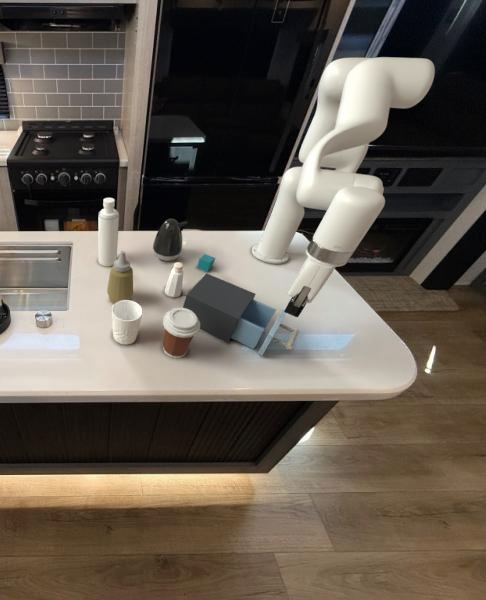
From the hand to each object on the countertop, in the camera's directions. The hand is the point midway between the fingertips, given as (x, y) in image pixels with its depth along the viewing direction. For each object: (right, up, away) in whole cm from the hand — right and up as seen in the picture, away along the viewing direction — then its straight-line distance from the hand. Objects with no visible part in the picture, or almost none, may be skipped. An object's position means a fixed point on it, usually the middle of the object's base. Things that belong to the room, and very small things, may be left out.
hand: (291, 312), depth 77 cm
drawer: (-4, -7, +10) cm, 13 cm away
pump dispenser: (-22, +19, +40) cm, 49 cm away
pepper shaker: (-23, +6, +25) cm, 34 cm away
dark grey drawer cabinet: (-13, -2, +16) cm, 21 cm away
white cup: (-40, -7, +12) cm, 42 cm away
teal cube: (-9, +15, +35) cm, 39 cm away
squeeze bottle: (-40, +3, +23) cm, 46 cm away
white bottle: (-44, +17, +38) cm, 60 cm away
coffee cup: (-27, -10, +8) cm, 29 cm away
